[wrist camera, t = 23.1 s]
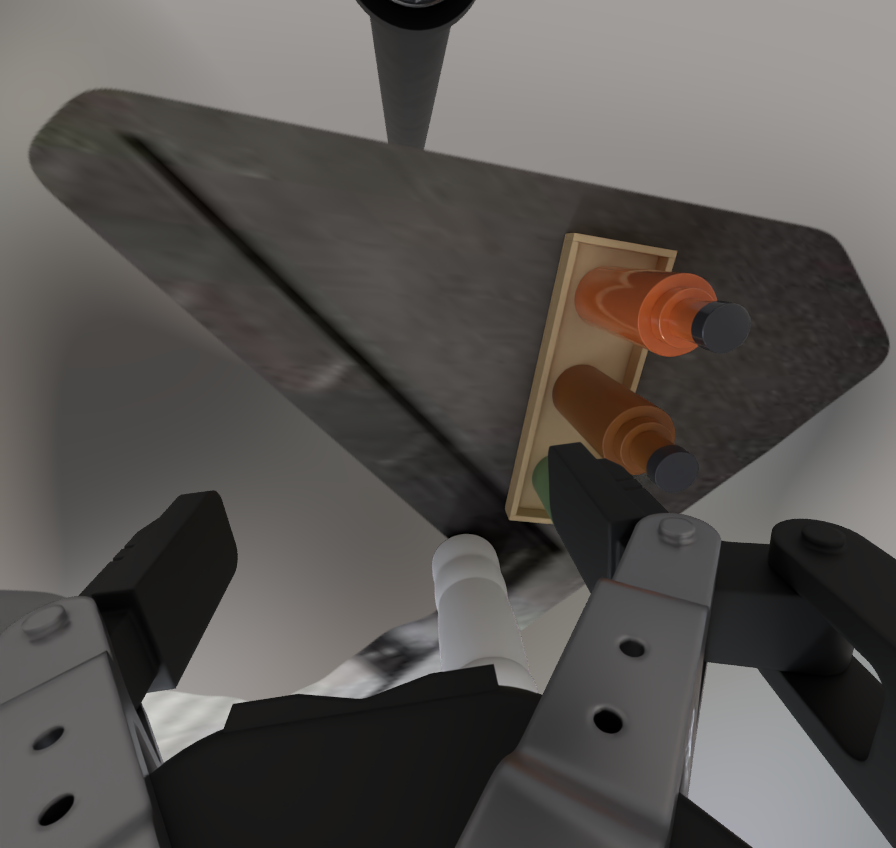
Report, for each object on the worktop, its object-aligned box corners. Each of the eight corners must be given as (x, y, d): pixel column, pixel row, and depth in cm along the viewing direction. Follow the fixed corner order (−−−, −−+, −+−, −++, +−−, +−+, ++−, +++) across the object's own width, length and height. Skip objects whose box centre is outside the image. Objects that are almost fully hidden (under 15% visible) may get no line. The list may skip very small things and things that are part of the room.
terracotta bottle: (565, 283, 42) (668, 306, 26) (621, 254, 42) (762, 260, 26) (586, 337, 44) (694, 391, 28) (640, 310, 44) (782, 349, 27)
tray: (565, 233, 41) (574, 232, 39) (663, 250, 43) (677, 251, 41) (504, 508, 50) (509, 520, 48) (587, 516, 52) (595, 528, 50)
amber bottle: (543, 380, 45) (622, 456, 29) (595, 354, 45) (707, 417, 29) (563, 427, 47) (649, 524, 31) (614, 403, 47) (728, 488, 30)
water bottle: (434, 589, 53) (459, 857, 30) (428, 535, 51) (449, 782, 27) (497, 580, 54) (570, 839, 30) (494, 526, 51) (571, 763, 28)
